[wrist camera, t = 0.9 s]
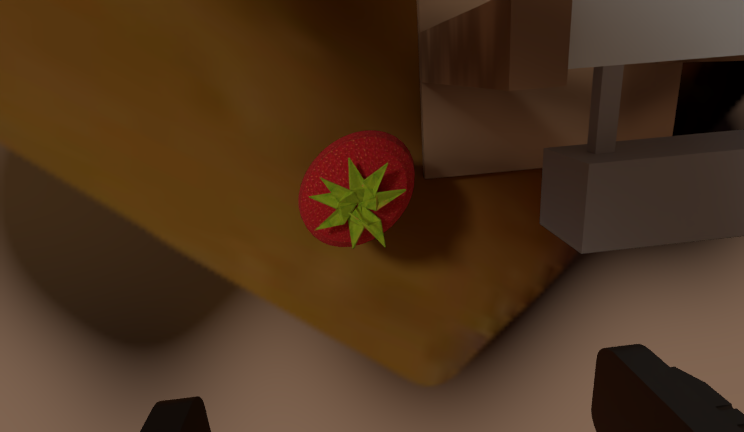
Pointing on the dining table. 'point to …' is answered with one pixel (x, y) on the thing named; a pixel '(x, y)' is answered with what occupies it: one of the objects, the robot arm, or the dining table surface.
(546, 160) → the trapdoor
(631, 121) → the stand
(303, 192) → the strawberry
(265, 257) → the dining table surface
